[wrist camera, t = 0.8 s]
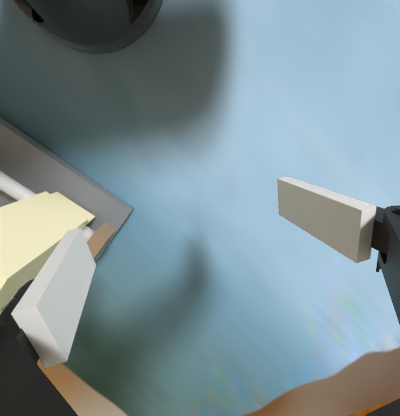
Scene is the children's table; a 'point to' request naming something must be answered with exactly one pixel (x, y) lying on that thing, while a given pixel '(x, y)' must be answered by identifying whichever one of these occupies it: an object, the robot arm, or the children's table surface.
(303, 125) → the children's table surface
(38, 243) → the pale yellow block
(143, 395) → the children's table surface
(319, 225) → the robot arm
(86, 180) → the rod bead slider
